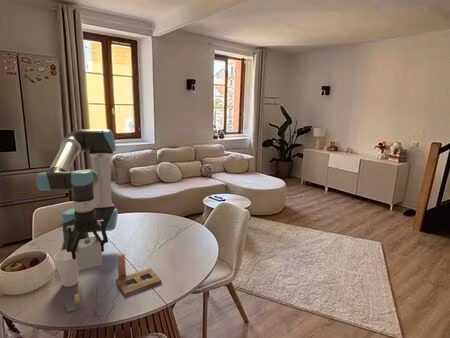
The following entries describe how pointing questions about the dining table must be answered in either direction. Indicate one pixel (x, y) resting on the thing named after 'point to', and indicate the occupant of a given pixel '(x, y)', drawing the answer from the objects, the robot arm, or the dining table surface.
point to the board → (138, 281)
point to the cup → (67, 268)
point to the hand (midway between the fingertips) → (89, 262)
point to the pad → (74, 304)
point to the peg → (121, 265)
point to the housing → (89, 253)
